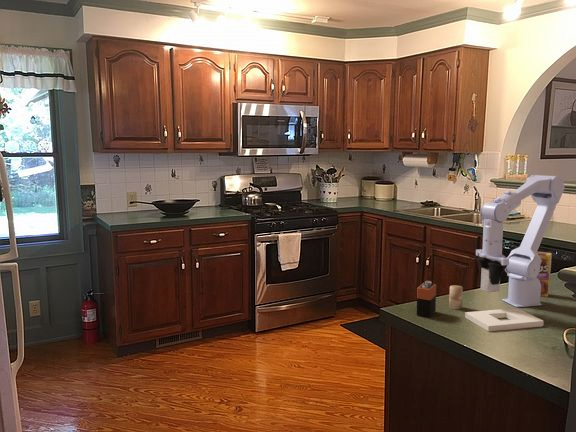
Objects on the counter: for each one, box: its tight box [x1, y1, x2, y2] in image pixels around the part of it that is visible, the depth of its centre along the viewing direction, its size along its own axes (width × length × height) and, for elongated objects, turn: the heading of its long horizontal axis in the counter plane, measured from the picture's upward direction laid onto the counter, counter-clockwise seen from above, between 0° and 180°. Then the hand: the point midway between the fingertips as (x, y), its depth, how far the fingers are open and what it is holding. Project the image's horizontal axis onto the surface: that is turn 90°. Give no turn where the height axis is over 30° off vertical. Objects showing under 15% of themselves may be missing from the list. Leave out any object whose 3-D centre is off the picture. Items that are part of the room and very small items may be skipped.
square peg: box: [480, 267, 501, 293], centre depth 157 cm, size 4×4×7 cm
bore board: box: [464, 307, 545, 332], centre depth 148 cm, size 18×12×2 cm, turn 102°
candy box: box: [536, 250, 553, 297], centre depth 174 cm, size 9×4×15 cm, turn 56°
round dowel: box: [448, 284, 464, 311], centre depth 161 cm, size 4×4×7 cm
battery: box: [416, 280, 437, 318], centre depth 155 cm, size 4×7×10 cm, turn 148°
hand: (490, 282), depth 157 cm, fingers closed on square peg, 4 cm apart
